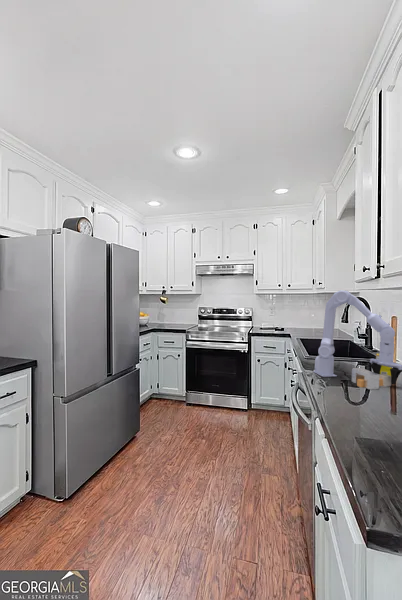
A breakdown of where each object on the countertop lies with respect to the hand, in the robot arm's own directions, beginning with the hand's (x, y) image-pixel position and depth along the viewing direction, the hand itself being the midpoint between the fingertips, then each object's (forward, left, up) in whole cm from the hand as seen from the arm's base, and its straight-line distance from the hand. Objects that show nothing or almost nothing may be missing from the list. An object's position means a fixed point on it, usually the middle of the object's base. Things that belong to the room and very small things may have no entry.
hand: (385, 381), depth 142 cm
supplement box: (-14, +11, -2) cm, 18 cm away
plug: (+1, -6, -2) cm, 6 cm away
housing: (0, -11, -1) cm, 11 cm away
